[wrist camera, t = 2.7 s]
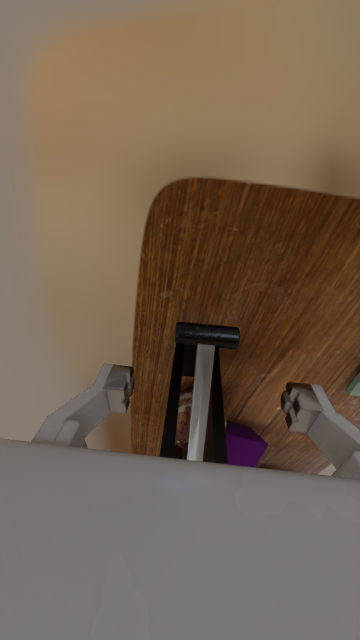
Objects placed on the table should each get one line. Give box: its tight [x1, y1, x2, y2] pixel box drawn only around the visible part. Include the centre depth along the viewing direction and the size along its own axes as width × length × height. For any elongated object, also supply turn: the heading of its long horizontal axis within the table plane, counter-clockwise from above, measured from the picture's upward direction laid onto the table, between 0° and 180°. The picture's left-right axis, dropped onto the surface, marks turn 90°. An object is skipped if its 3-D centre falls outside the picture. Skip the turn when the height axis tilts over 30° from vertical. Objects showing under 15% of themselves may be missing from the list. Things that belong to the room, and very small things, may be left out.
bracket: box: [160, 344, 228, 464], centre depth 22 cm, size 8×6×18 cm
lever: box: [175, 322, 240, 462], centre depth 16 cm, size 14×4×2 cm, turn 177°
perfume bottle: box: [225, 422, 268, 468], centre depth 32 cm, size 8×8×18 cm
